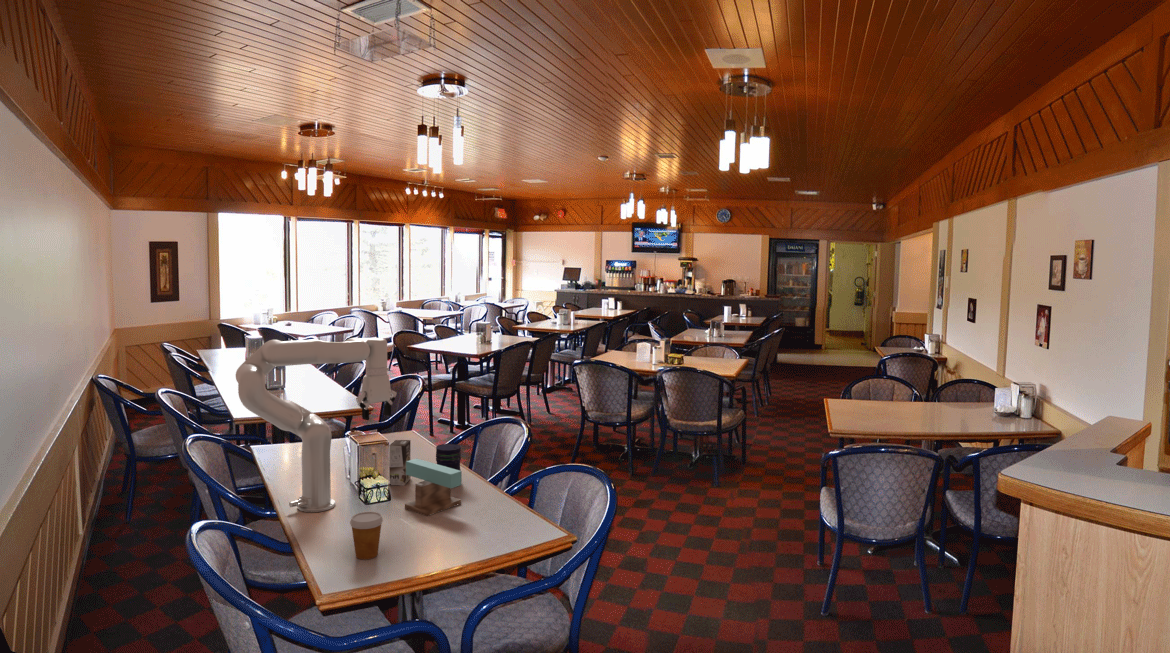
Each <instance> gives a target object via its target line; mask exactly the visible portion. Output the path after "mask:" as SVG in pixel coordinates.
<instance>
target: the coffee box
mask: <svg viewBox="0 0 1170 653" xmlns="http://www.w3.org/2000/svg"><path fill="white" fill-rule="evenodd" d="M388 446H389V448H388V452H389V456H388V457H389V458H388V460H389V461H388V466H389V468H388V470H389V472H388V476H389V477H388V478H389V479H388V482H389V481H390V484H391V485H390V486H406V484H407V483H408V482H409V481H410V480H411V477H412V476H409V475H406V461H409V460H411V439H395V440H393V442H391V443H390V444H389V445H388Z"/></svg>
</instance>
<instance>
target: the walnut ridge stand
mask: <svg viewBox="0 0 1170 653" xmlns="http://www.w3.org/2000/svg"><path fill="white" fill-rule="evenodd" d="M414 489H415V491H414V492H415V493H414V494H415V495H414V496H415V498H414V500H413V501H410V502H407V503H404V509H406V510H409V511H411V512H415V513H418V514H420V515H423V516H425V517H428V515H429V516H431V515H430V514H432V515H434V514H437V513H439V512H438V511H440V512H442V511H441V510H443V511H445V510H444V509H446V510H448V509H450V508H449V507H451V508H453V507H452V506H454V505H457V504H459V505H461V504H462V499H460V498H457V497H454V496H452V495H451V492H452V488H448V487H445V486H441V485H438V484H435V483H432V482H428V481H425V480H422V481H419V482H416V483H415V484H414ZM460 503H461V504H460ZM457 506H458V505H457ZM454 507H455V506H454ZM447 508H448V509H447ZM436 512H437V513H436ZM433 513H434V514H433Z"/></svg>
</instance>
